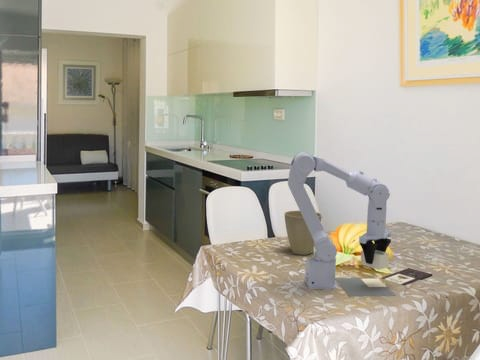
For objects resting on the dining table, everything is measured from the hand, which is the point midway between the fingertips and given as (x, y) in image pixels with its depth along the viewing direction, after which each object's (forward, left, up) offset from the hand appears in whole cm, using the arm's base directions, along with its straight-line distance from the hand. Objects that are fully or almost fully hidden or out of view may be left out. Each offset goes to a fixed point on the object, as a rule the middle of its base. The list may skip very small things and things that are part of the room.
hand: (374, 261), depth 157 cm
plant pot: (-15, +41, -9) cm, 45 cm away
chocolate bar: (+15, +9, -9) cm, 20 cm away
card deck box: (0, 0, -1) cm, 1 cm away
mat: (-3, 0, -8) cm, 9 cm away
